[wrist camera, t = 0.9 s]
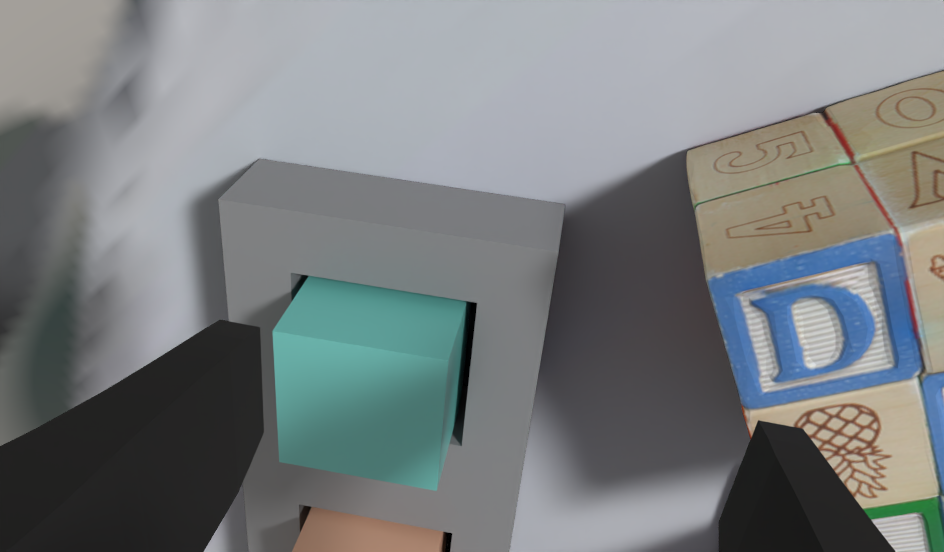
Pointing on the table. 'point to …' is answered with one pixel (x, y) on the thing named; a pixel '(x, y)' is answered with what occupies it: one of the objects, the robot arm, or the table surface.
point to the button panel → (407, 269)
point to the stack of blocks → (840, 290)
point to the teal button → (369, 380)
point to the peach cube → (364, 535)
